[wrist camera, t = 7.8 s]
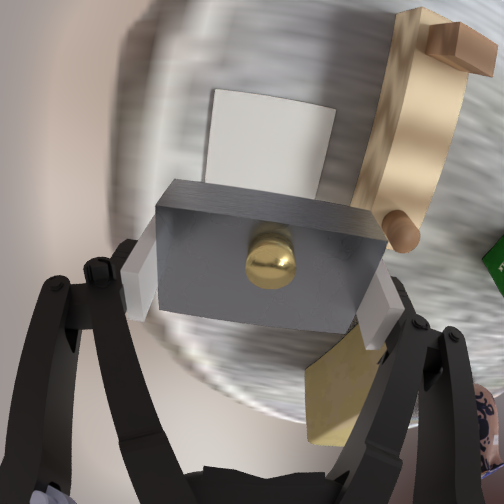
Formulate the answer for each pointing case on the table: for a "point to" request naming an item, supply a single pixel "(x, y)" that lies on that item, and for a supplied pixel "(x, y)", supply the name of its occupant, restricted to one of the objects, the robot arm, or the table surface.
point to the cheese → (339, 389)
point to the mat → (267, 143)
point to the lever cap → (263, 256)
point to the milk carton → (496, 264)
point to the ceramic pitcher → (487, 431)
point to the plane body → (417, 119)
